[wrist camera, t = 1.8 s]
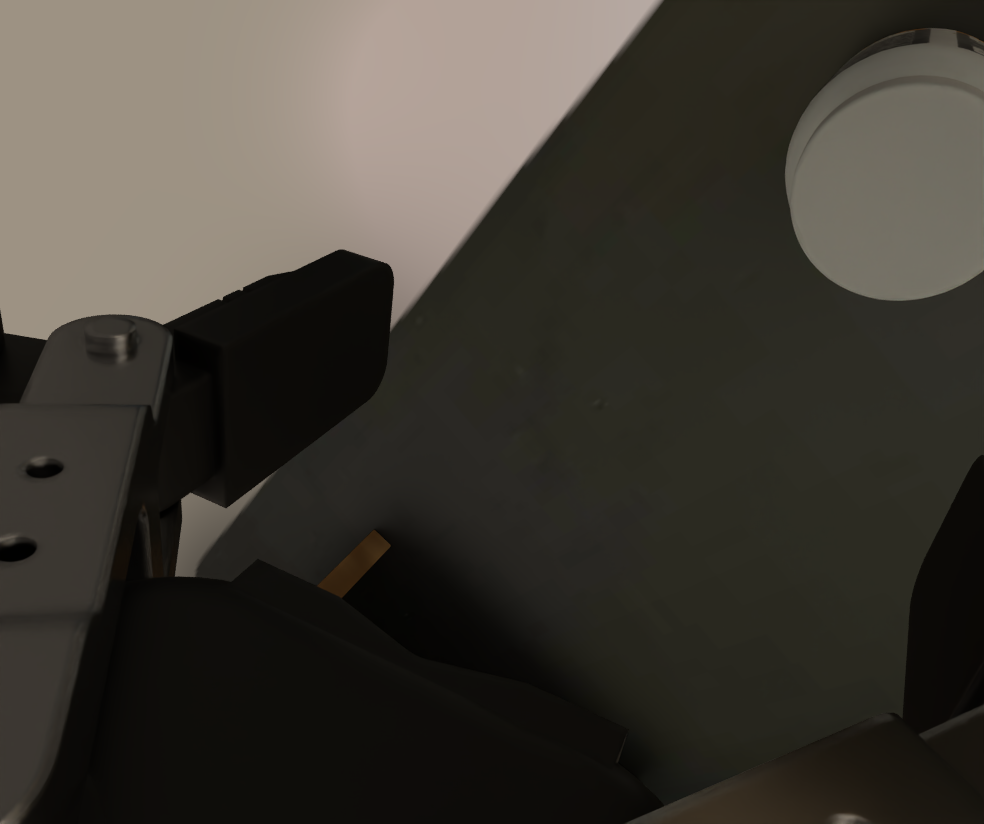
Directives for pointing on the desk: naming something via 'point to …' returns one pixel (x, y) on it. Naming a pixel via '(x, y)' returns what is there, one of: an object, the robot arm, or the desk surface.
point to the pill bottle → (894, 168)
